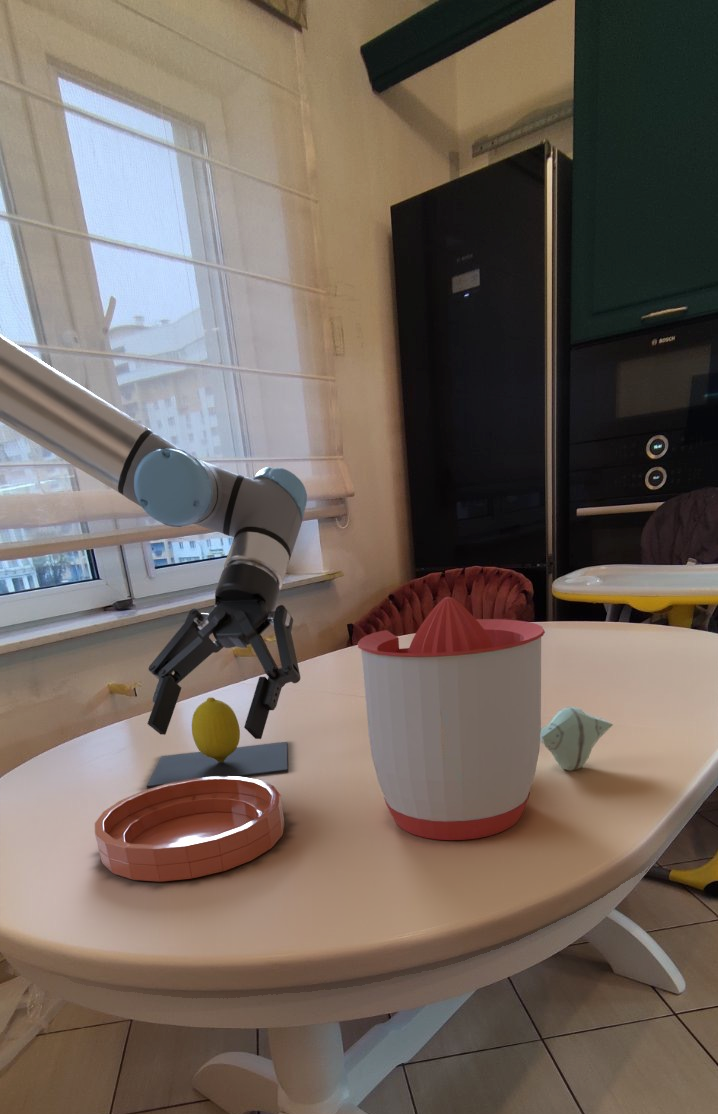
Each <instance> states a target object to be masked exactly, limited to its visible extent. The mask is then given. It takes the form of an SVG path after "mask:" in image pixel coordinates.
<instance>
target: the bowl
mask: <svg viewBox="0 0 718 1114" xmlns="http://www.w3.org/2000/svg"><path fill="white" fill-rule="evenodd" d="M284 817H285V816H284V812H283V803H282V796H281V793H280V792H279V790H277V788H276V787H275V786H274V785H272V784H270V783H268V782H265V781H264V780H261V779H255V778H250V777H225V776H215V777H205V778H194V779H188V780H183V781H178V782H173V783H168V784H164V785H160V786H157V787H154V788H148V789H147V788H146V789H143V790H141V791H139V792H137V793H134V794H131V795H130V796H127V797H126V798H123V799H120V800H118V801H117V802H116V803H114V804H113V805H111V806H110V807H108V808H107V809H105V810H103V812H102V813H101V814H100V815H99V817H98V818H97V819H96V821H95V822H94V836H95V840H96V842H97V844H96V845H97V847H98V853H99V855H100V860H101V863H102V865H103V866H104V867H106V868H107V869H108V870H109V872H111V873H112V874H114V875H117V876H119V877H124V878H126V879H130V880H132V881H133V880H134V881H146V882H169V881H170V882H171V881H180V880H189V879H190V880H192V879H196V878H200V877H204V876H209V875H213V874H217V873H221V872H225V871H228V870H231V869H233V868H236V867H239V866H241V865H244V864H246V863H249V862H251V861H254V859H257V858H258V857H260V856H261V855H263V854H265V853H266V852H267V851H269V850H271V849H272V848H273V847H274V846H275V844H276V843H277V842H278V841H279V840H280V839H281V838H282V837H283V834H284V829H285V818H284Z"/></svg>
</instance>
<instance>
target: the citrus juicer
mask: <svg viewBox="0 0 718 1114" xmlns="http://www.w3.org/2000/svg"><path fill="white" fill-rule="evenodd" d="M545 633H546V632H545V629H544V627H543V626H542V625H540V624H538V623H534V622H530V621H524V620H517V619H516V620H515V619H503V618H501V619H500V618H475V616H473V614H472V613H471V612H470V611H469V610H468V609H467V608H466V607H465V606H464V605H463V604H462V603H460V602H459V601H458V600H456V599H455V598H454V597H452V596H446V597H444V598H442V599H441V600H440V601H439V602H438V603H437V604H436V605H435V606H434V607H433V609H432V610H431V611H430V612H429V613H428V615H426V617H425V619H424V620H423V622H422V623H420V626H419V627H418V629H417V631H416V632H415V634H414V637H413V638H412V640H411V642H410V645H409V647H403V648H400V641H399V639H400V638H399V637H398V636H396V635H395V634H393V633H392V632H390V631H389V630H387V629H384V630H380V631H375V632H372V633H370V634H367V635H365V636H363V637H362V638H360V639H359V640H358V642H357V648H358V649H359V650H361V660H362V661H361V662H362V674H363V685H364V695H365V696H364V697H365V707H366V719H367V720H366V721H367V730H368V739H369V747H370V753H371V759H372V763H373V766H374V770H375V774H376V778H377V781H378V784H379V787H380V790H381V792H382V794H383V799H384V802H385V805H386V807H387V809H388V810H389V813H390V814H391V817H392V818H393V820H394V822H395V824H397V825H398V827H399V828H401V829H402V830H403V831H405V832H407V833H409V834H412V835H414V836H418V837H421V838H426V839H431V840H440V841H441V840H442V841H466V840H475V839H481V838H485V837H489V836H493V835H496V834H499V833H502V832H504V831H506V830H508V829H510V828H511V827H513V826H514V825H516V823H518V821H519V820H520V818H521V816H522V814H523V812H524V809H525V808H526V804H527V803H528V801H529V797H530V794H531V791H530V790H531V787H532V784H533V781H534V778H535V774H536V772H537V771H536V770H537V766H538V760H539V756H540V755H539V754H540V749H541V740H540V734H541V728H542V637H543V636H544V635H545Z"/></svg>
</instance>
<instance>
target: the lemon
mask: <svg viewBox="0 0 718 1114" xmlns="http://www.w3.org/2000/svg"><path fill="white" fill-rule="evenodd" d="M191 734H192V739H193V742H194V744H195V746H196V748H197V749H198V750H199V752H202V753H203V754H204V755H205V756H207V757H210V758H214V759H215V760H217V761H218V762H224V760H225V759H226V757H227V756H229V755H230V754H232V753H233V752H234V751H235V749H236V748H238V747H239V746H238V745H239V743H240V738H241V730H240V725H239V721H238V718H237V715H236V713H235V711H234V710H233V708H232V707H231V706H230V705H229V704H227V703H226V702H224V701H223V700H219V699H216V698H215V697H212V696H211V697H207V699H206V700H205V701H203V702H202V703H200V704H199V705H198V706H197V707H196V709H195V710H194V712H193V715H192V718H191Z"/></svg>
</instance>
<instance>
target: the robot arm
mask: <svg viewBox="0 0 718 1114" xmlns="http://www.w3.org/2000/svg"><path fill="white" fill-rule="evenodd" d="M0 423H2V424H4V425H6V426H7V427H9V428H11V429H12V430H14V431H15V432H17V433H18V434H20V435H22V436H23V437H25V438H27V439H29V440H31V442H34V443H35V444H37V445H38V446H41V447H42V448H44V449H45V450H47V451H49V452H50V453H52V454H54V455H56V456H57V457H59V458H60V459H62V460H63V461H65V462H67V463H69V464H71V465H72V466H74V467H75V468H77V469H79V470H80V471H82V472H84V473H85V474H87V475H88V476H91V477H92V478H94V479H95V480H97V481H99V482H101V483H102V484H104V485H105V486H107V487H109V488H111V489H112V490H114V492H115V491H116V492H117V493H118V494H120V495H122V496H123V497H125V498H126V499H127V500H129V501H131V502H133V503H134V504H136V505H138V506H139V507H141V508H142V509H143V510H144V512H146V514H147V515H148V516H149V517H151V518H152V519H153V520H155V521H157V522H159V523H161V524H163V525H165V526H168V527H171V528H181V527H188V526H191V525H196V526H199V527H202V528H205V529H208V530H211V531H214V532H217V533H221V534H223V535H224V536H228V537H232V538H233V539H232V542H231V545H230V547H229V551H228V553H227V557H226V559H225V562H224V565H223V569H222V570H221V574H220V576H219V580H218V582H217V586H216V589H215V592H214V607H213V608H212V609H211V610H210V611H209V613H207V612H206V613H205V612H200V610H198V609H197V608H196V607H193V608H191V609H190V610H189V612H188V614H187V617H186V618H185V621H184V623H183V624H182V625H181V627H180V628H179V629H178V630H177V631H176V633H175V634H174V635H173V636H172V638H171V639H170V640H169V641H168V643H167V644H166V645H165V646H164V647H163V649H161V650H160V652H159V654H158V655H157V656H156V657H155V658H154V660H153V661H152V662H151V664H149V666H148V671H149V672H150V673H151V674H152V675H153V676H154V677H155V678H156V679H157V680H158V682H157V684H156V687H155V691H154V693H153V696H152V702H153V707H152V709H151V712H150V714H149V718H148V721H147V725H148V726H149V727H150V728H152V729H153V730H154V731H155V732H157V733H158V734H159V735H162V736H163V735H164V736H165V735H166V734H167V732H168V729H169V726H170V723H171V721H172V718H173V714H174V712H175V709H176V706H177V703H178V699H179V697H180V693H181V691H182V687H181V686H180V685H179V683H181V681H182V680H184V679H185V678H186V677H187V676H189V674H190V673H192V672H193V671H194V670H195V669H196V668H197V667H199V665H201V664H202V663H203V662H205V660H207V659H208V657H210V656H211V655H212V654H214V653H215V654H216V653H219V652H220V651H221V650H222V649H223V648H224V649H232V648H235V647H237V648H241V649H246V648H247V647H248V646H251V647H252V650H253V651H254V653H255V655H256V657H257V659H258V661H259V663H260V665H261V667H262V668H263V671H264V673H265V675H266V676H267V677H266V676H259V677H258V681H257V684H256V687H255V691H254V693H253V697H252V700H251V704H250V707H249V710H248V713H247V716H246V719H245V723H244V726H243V728H244V729H245V730H246V731H247V732H248V733H249V734H250V735H251V736H252V737H253V738H254V739H255V740H261V739H262V737H263V734H264V731H265V727H266V724H267V720H268V717H269V714H270V711H274V710H275V709H276V708H277V705H278V702H279V699H280V695H281V691H282V688H284V686H285V685H287V684H289V683H292V684H298V683H299V682H300V681H301V672H300V668H299V664H298V663H299V662H298V659H297V653H296V650H295V649H296V648H295V645H294V639H293V636H292V635H293V634H292V629H293V624H294V618H293V617H292V615H291V614H290V611H288V609H287V608H286V606H285V605H284V604H280V605H278V606H277V604H278V601H279V598H280V594H281V589H282V587H283V584H284V580H285V577H286V574H287V570H288V568H289V564H290V561H291V557H292V554H293V552H294V548H295V545H296V542H297V539H298V537H299V533H300V530H301V527H302V524H303V520H304V515H305V512H306V511H305V510H306V507H307V504H308V503H307V502H308V494H307V490H306V487H305V485H304V483H303V481H302V480H301V479H300V478H299V477H298V476H297V475H296V474H295V473H293V472H291V471H289V470H288V469H285V468H283V467H279V466H277V467H272V468H271V467H269V466H267V467H263V468H262V469H260V470H259V471H258V472H257V473H256V474H255V475H254V477H253V478H251V477H248V476H247V475H246V476H244V475H241V474H237V473H235V472H232V471H229V470H227V469H224V468H222V467H219V466H217V465H215V464H211V463H209V462H207V461H205V460H201V459H200V458H197V457H194V456H193V455H191V454H190V453H188V452H186V451H185V450H183V449H182V448H180V447H178V446H177V445H175V444H173V443H171V442H170V441H169V440H167V439H166V438H164V437H163V436H161V435H159V434H157V433H155V432H153V431H152V430H151V429H149V428H148V427H146V426H145V425H144V424H142V423H140V422H138V421H137V420H136V419H134V418H133V417H131V416H129V415H128V414H126V413H125V412H123V411H121V410H119V409H118V408H117V407H115V406H113V405H112V404H110V403H108V402H107V401H105V400H104V399H102V398H101V397H99V396H97V395H96V394H94V393H93V392H91V391H90V390H88V389H87V388H85V387H83V386H82V385H80V384H79V383H77V382H75V381H74V380H72V379H71V378H70V377H68V376H66V375H65V374H63V373H61V372H59V371H58V370H56V369H55V368H53V367H51V366H50V365H48V364H47V363H45V362H44V361H42V360H41V359H39V358H38V357H36V356H34V355H33V354H32V353H30V352H28V351H26V350H25V349H24V348H22V347H20V346H19V345H17V344H15V343H14V342H13V341H11V340H9V339H7V337H4V336H3V335H2V334H0ZM270 626H273V630H274V635H275V639H276V645H277V651H278V656H279V661H280V668H279V667H278V665H277V663H276V661H275V660H274V657H273V656H272V654H271V652H270V650H269V648H268V645H267V643H266V641H265V639H264V637H263V636H262V634H263V633H264V632H265V631H267V629H268V628H270ZM211 635H213V637H214V639H215V641H213V640H212V639H211V637H210V636H211Z"/></svg>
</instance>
